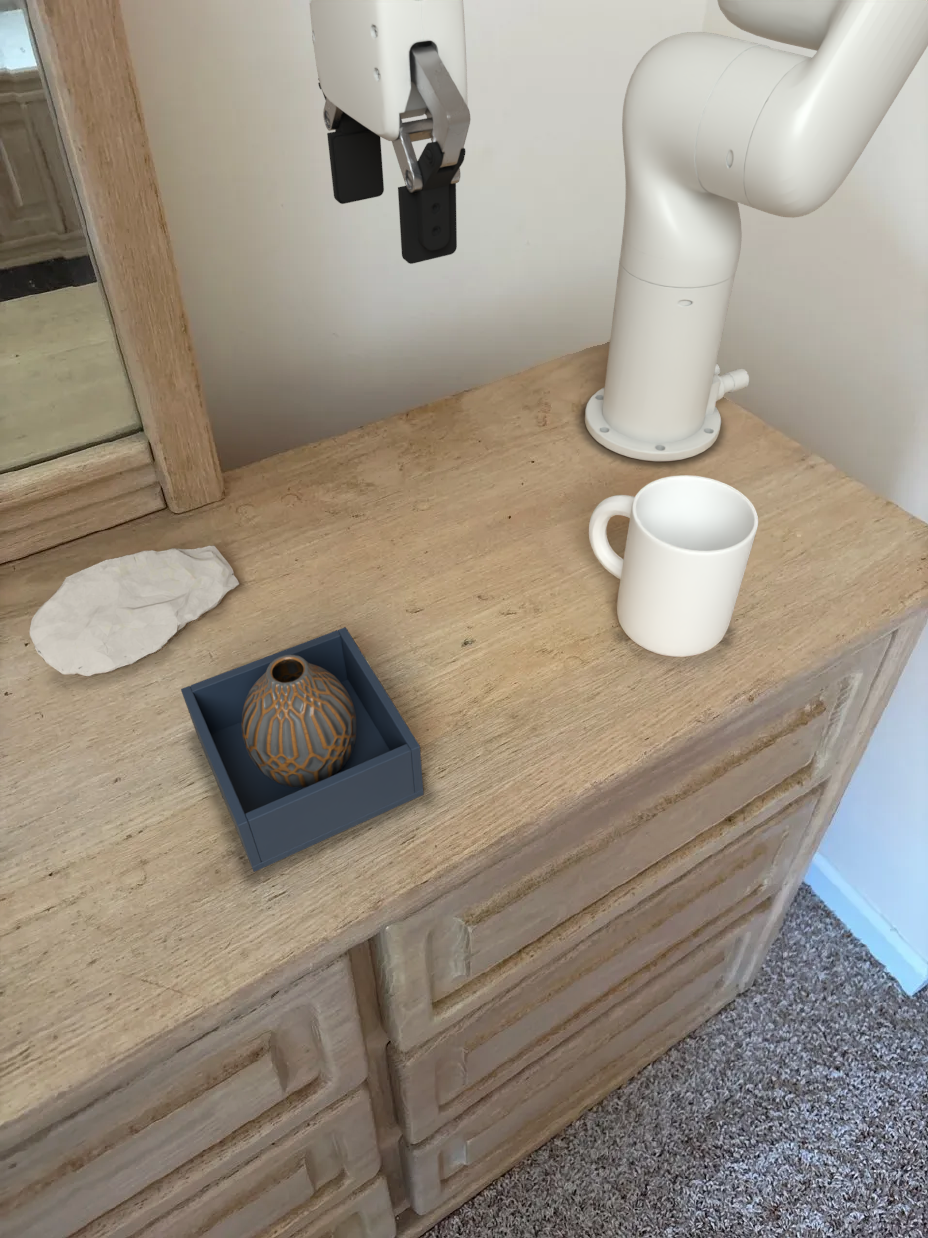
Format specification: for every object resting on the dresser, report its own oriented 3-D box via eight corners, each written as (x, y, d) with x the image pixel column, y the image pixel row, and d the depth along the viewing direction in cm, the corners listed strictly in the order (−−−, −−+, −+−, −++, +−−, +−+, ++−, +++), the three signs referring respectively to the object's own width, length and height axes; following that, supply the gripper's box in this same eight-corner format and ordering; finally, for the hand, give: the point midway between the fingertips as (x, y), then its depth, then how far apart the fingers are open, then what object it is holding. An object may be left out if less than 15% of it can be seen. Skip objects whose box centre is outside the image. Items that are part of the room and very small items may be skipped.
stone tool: (70, 711, 64) (257, 616, 70) (61, 694, 61) (257, 596, 67) (16, 616, 66) (202, 532, 72) (5, 595, 63) (200, 509, 69)
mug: (553, 601, 69) (562, 493, 62) (615, 547, 73) (631, 440, 66) (689, 679, 63) (717, 571, 56) (748, 616, 68) (781, 507, 60)
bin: (353, 676, 64) (345, 626, 60) (423, 795, 57) (420, 746, 53) (198, 738, 60) (180, 688, 56) (253, 872, 53) (237, 826, 49)
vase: (269, 820, 55) (242, 732, 49) (241, 737, 59) (214, 646, 53) (376, 782, 57) (364, 692, 51) (341, 704, 61) (326, 613, 55)
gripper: (536, -135, 38) (521, 268, 50) (366, -170, 48) (388, 169, 60) (371, -121, 35) (398, 299, 47) (231, -161, 46) (282, 190, 58)
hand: (392, 225), depth 54 cm, fingers open, 9 cm apart
